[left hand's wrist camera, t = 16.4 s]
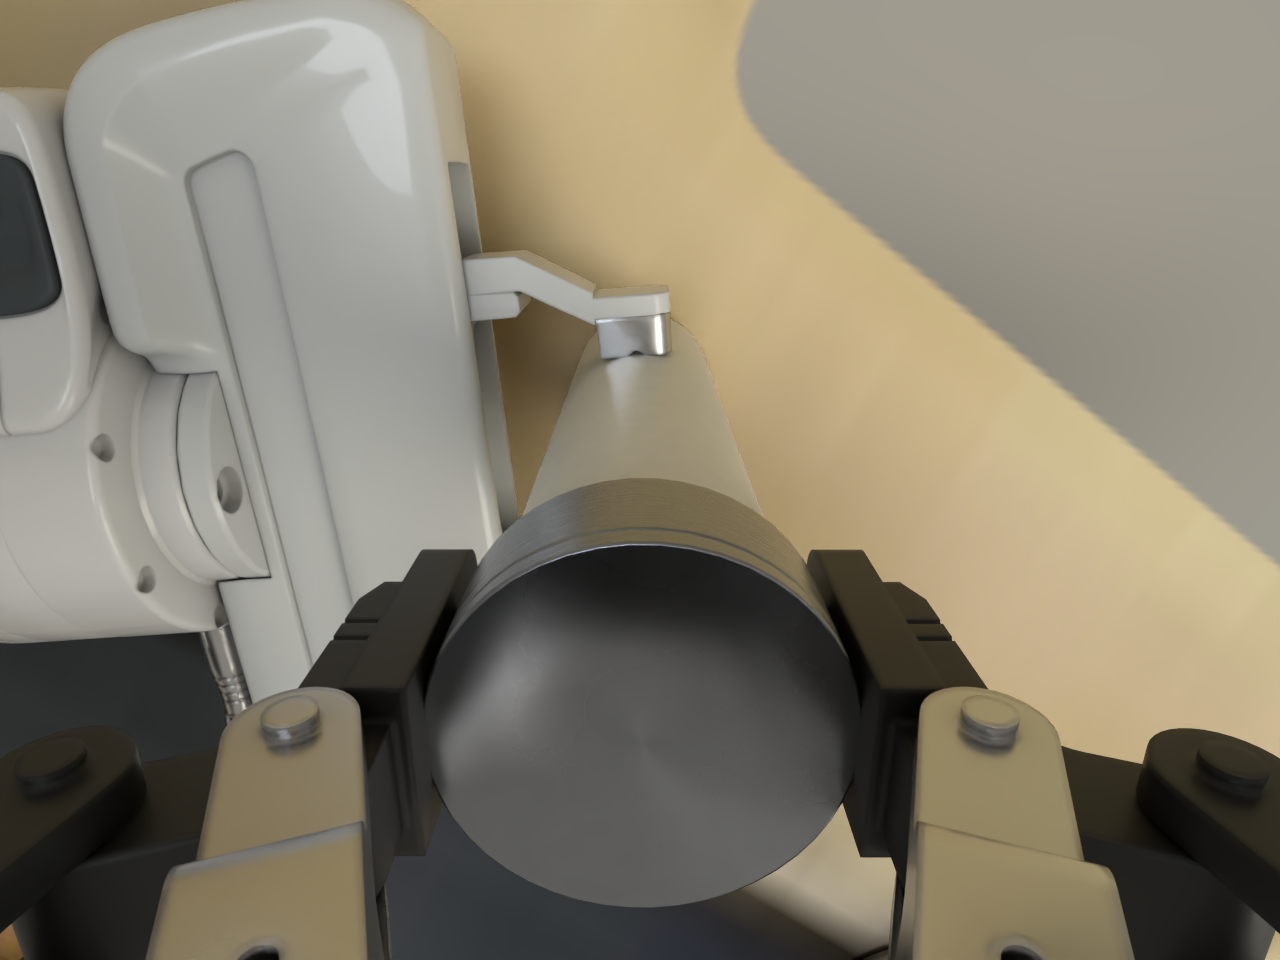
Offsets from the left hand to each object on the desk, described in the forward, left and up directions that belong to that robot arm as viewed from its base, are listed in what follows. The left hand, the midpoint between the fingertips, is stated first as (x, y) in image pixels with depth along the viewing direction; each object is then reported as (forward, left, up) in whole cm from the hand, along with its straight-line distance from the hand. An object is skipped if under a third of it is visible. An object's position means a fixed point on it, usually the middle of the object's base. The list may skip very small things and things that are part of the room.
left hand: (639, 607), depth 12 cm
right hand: (0, -1, -9) cm, 9 cm away
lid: (0, 0, +3) cm, 3 cm away
